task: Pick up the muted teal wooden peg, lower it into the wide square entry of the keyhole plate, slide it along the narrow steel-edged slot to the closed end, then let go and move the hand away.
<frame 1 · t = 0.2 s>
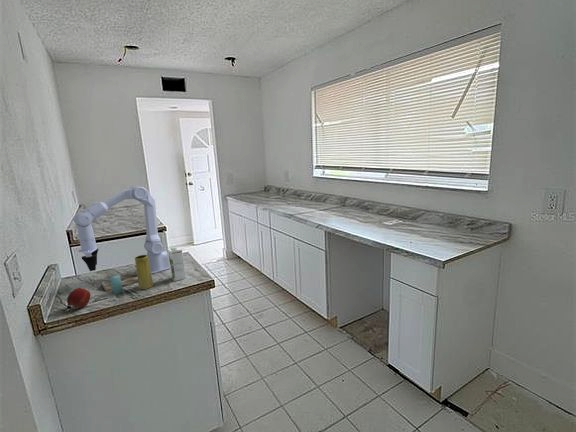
hand: (93, 267, 135), 10 cm above the counter, tool pointing down, fingers open, 7 cm apart
syrup box: (179, 278, 143), on the counter
peg: (117, 292, 132), on the counter
vase: (146, 286, 136), on the counter
apple: (81, 307, 120), on the counter
keyhole plate: (121, 282, 142), on the counter
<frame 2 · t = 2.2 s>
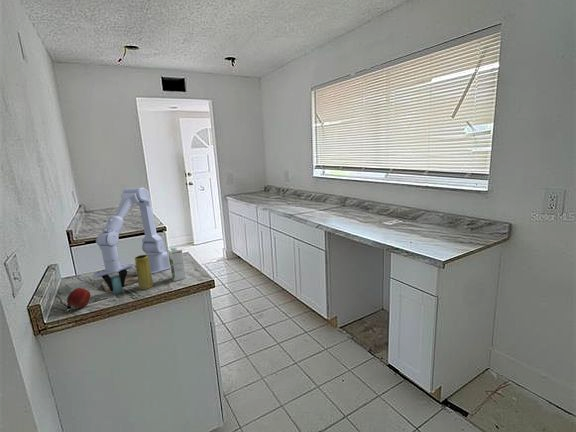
hand: (117, 288, 131), 2 cm above the counter, tool pointing down, fingers closed on peg, 4 cm apart
peg: (117, 292, 132), on the counter, touching gripper
everything else where it was.
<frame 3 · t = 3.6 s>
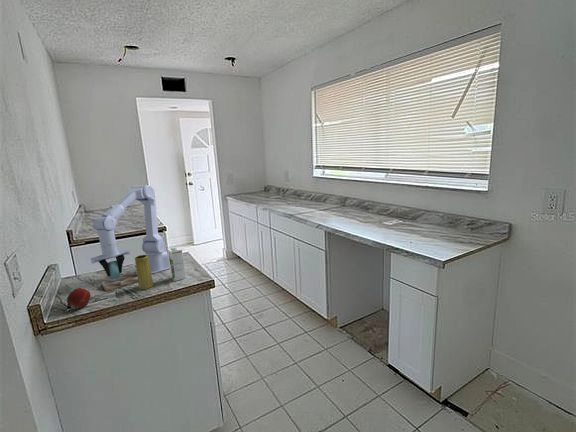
hand: (114, 274, 130), 8 cm above the counter, tool pointing down, fingers closed on peg, 4 cm apart
peg: (115, 277, 131), point 7 cm above the counter, touching gripper
everything else where it was.
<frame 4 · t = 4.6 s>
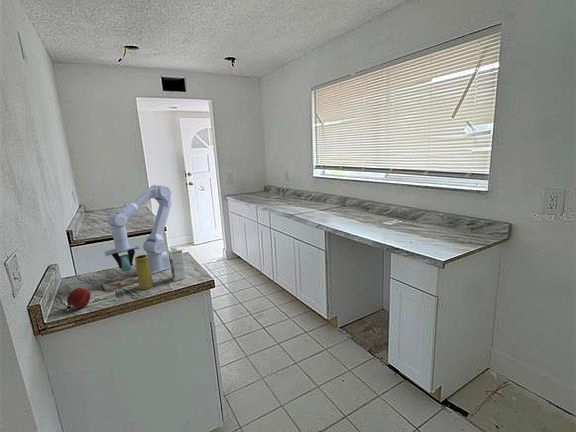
hand: (125, 266, 142), 7 cm above the counter, tool pointing down, fingers closed on peg, 4 cm apart
peg: (126, 269, 142), point 6 cm above the counter, touching gripper
everything else where it was.
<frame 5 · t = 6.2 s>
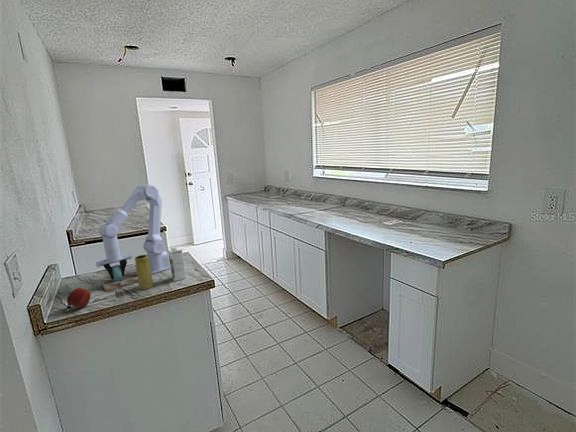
hand: (117, 277, 140), 3 cm above the counter, tool pointing down, fingers closed on peg, 4 cm apart
peg: (118, 280, 140), point 2 cm above the counter, touching gripper
everything else where it was.
when the fingers open (3 cm above the counter, at t = 7.4 s): peg stays where it is, resting on keyhole plate.
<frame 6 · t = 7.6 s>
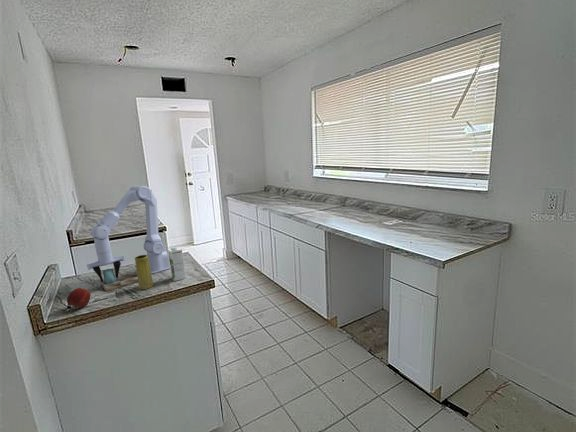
hand: (109, 279, 138), 3 cm above the counter, tool pointing down, fingers open, 5 cm apart
peg: (110, 284, 139), point 1 cm above the counter, touching keyhole plate
everything else where it was.
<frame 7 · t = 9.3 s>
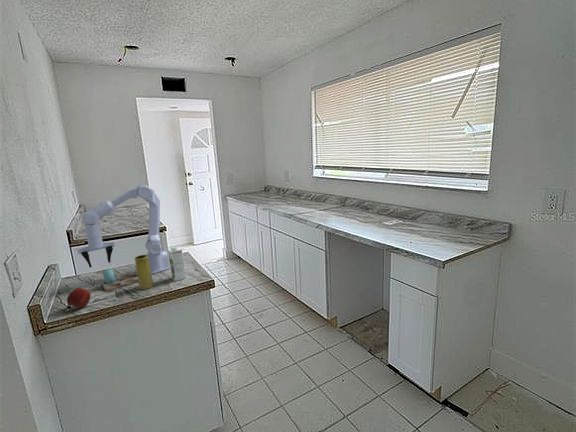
hand: (100, 264, 141), 9 cm above the counter, tool pointing down, fingers open, 7 cm apart
nothing on the counter moved.
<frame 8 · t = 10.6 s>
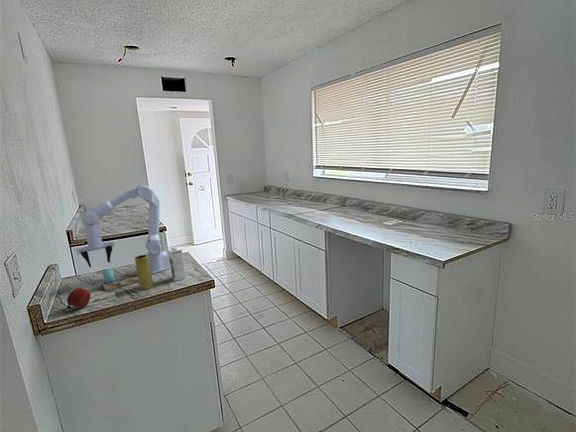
hand: (99, 264, 141), 9 cm above the counter, tool pointing down, fingers open, 7 cm apart
nothing on the counter moved.
at the end: peg 0.1 cm from the target spot on the keyhole plate, point 0.6 cm above the keyhole plate's base; peg tilted 0°; the gripper is holding nothing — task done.
